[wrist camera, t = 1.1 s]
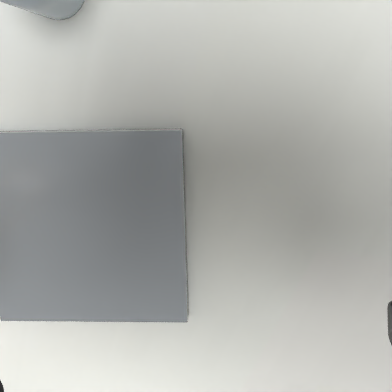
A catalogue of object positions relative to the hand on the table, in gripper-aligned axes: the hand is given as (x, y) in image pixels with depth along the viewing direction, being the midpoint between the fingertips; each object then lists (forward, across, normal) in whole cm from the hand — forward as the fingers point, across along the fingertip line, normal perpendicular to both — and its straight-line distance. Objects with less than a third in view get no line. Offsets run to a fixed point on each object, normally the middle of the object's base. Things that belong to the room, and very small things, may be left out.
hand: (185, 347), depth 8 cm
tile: (+14, +7, +2) cm, 15 cm away
